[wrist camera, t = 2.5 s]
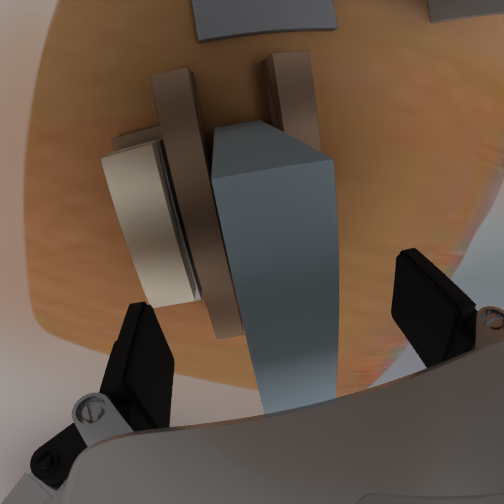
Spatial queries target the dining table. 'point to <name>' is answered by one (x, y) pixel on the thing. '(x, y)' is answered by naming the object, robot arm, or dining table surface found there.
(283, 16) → the slate mat
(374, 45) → the dining table surface
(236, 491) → the robot arm
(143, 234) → the offcut stack
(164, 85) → the rack
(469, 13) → the grey tall flat block
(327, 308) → the blue grey brick
